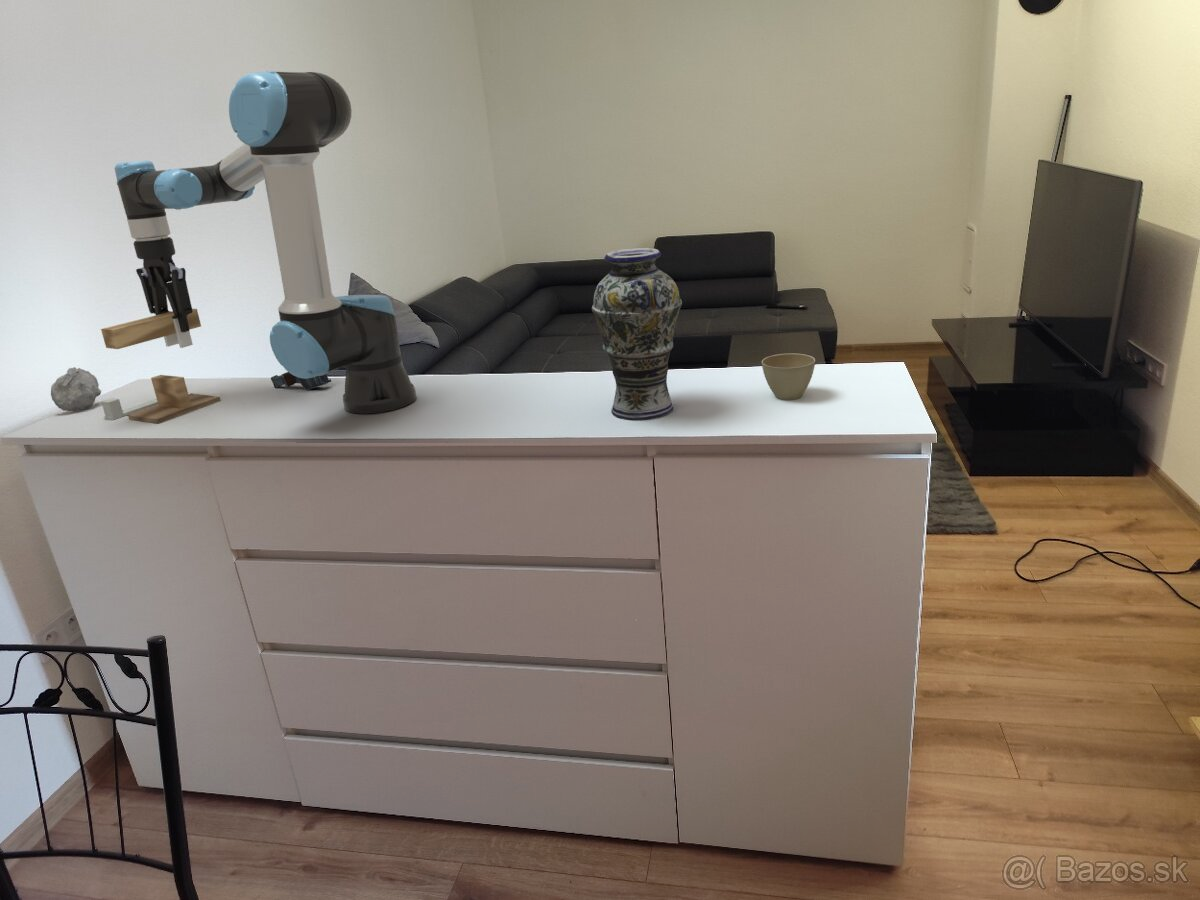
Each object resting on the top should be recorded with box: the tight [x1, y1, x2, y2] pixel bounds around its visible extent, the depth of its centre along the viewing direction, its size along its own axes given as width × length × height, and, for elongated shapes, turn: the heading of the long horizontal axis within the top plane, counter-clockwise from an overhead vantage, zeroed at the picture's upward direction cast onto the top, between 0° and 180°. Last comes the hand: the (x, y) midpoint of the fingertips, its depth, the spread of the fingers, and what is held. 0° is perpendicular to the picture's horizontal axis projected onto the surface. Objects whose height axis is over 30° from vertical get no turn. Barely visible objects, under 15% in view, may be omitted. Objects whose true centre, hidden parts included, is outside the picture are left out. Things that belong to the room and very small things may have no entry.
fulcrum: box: [127, 374, 222, 424], centre depth 189 cm, size 10×16×8 cm, turn 151°
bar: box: [100, 308, 202, 350], centre depth 183 cm, size 4×20×4 cm, turn 151°
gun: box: [270, 371, 332, 391], centre depth 197 cm, size 3×17×15 cm
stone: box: [50, 367, 102, 412], centre depth 195 cm, size 9×7×10 cm
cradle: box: [100, 397, 158, 421], centre depth 194 cm, size 3×19×4 cm, turn 151°
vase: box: [591, 247, 683, 421], centre depth 159 cm, size 17×17×30 cm
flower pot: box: [761, 353, 816, 401], centre depth 164 cm, size 10×10×7 cm
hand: (179, 345), depth 189 cm, fingers closed on bar, 4 cm apart
